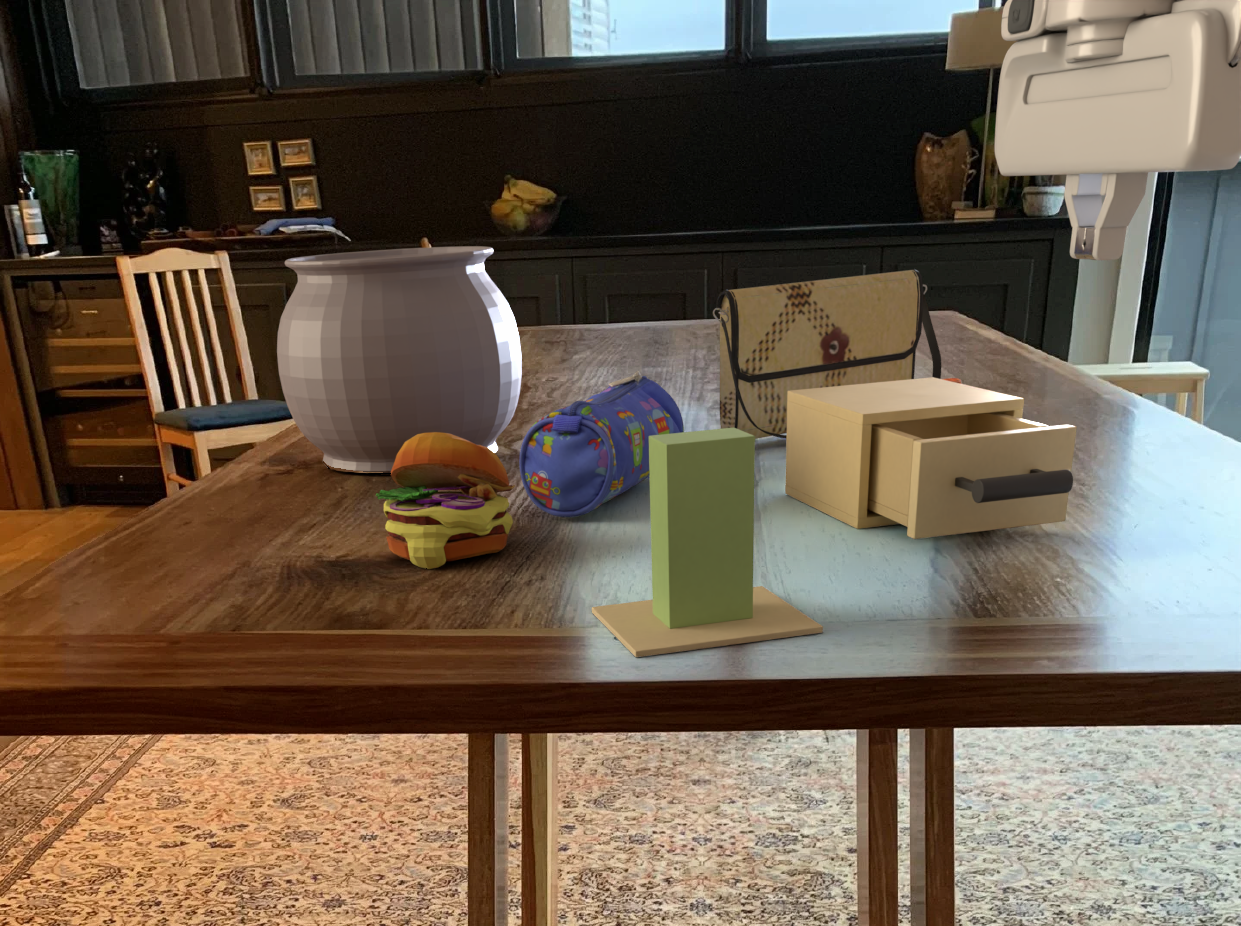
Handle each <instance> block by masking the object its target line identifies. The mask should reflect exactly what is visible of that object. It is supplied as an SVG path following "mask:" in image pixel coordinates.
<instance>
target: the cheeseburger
mask: <svg viewBox="0 0 1241 926" xmlns="http://www.w3.org/2000/svg"><path fill="white" fill-rule="evenodd" d="M390 477H391V479H392V481H393V482H394V483H395V484H396V485H397V486H400V487H398V488H392V489H389V490H384V489H380V490H379V492H376V493H375V497H377V500H381V499H384V500H385V501H384V503H383V513H384V516H385V517H386V518H387V519H388V520H387V521H386V523H385V525H384V528H385V530H386V531H387V534H388V536H387V535H386V542H387V545H388V548H389V551H390V552H392V553H393V554H394V555H396V556H397V557H399V558H401V559H404V560H408V561H410V562H411V564H413V565H415V566H416V567H419V568H421V569H426V568H427V570H433V569H437V568H439V567H441V566H444V565H445V564H446V562H453V561H458V560H462V559H467V558H473V557H479V556H483V555H486V554H487V555H488V554H494V553H498V552H501V551H502V550H503V549H504V548H505V547H506V546H507V541H508V537H509V533H510V531H511V529H512V526H513V524H514V520H513V517H512V515H511V514H510V513H509V512H508V511H507V509H509V507H510V502H509V498H507V497H505V496H504V495H501V494H498V493H504V492H511V491H512V490H513V489H514V488H515V487H516V484H510V480H509V477H508V473H507V470H506V468H505V466H504V464H503V462H502V461H501V460H500V458H499V456H498V455H497V454H496V452H495V453H494V452H493V451H491V450H490V449H489V448H487V447H484V446H482V445H476V444H474V443H472V442H470V441H467V440H465V439H463V438H460V437H458V436H455V435H452V434H449V433H441V432H430V433H421V434H417V435H415V436H414V437H412V438H411V439H409V440H407V441H406V442H405V443H404V444H403V446H402V447H401V449H400V451H399V452H398V454H397V456H396V459H395V462H394V465H393V467H392V470H391V474H390Z"/></svg>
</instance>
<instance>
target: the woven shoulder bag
mask: <svg viewBox="0 0 1241 926" xmlns="http://www.w3.org/2000/svg"><path fill="white" fill-rule="evenodd" d="M924 288H925V290H924ZM927 291H928V286H927V285H926V284H924V283H923V276H922V274H921V273H920V271H919V270H917V269H915V268H914V269H909V270H900V271H891V272H890V271H889V272H881V273H872V274H863V275H853V276H846V277H836V278H835V277H834V278H828V279H817V280H808V281H801V282H800V281H799V282H791V283H782V284H780V283H779V284H772V285H763V286H753V287H745V288H735V289H724V290H723V291H721V292H720V293H719V295H718V296H717V300H716V304H715V306H716V308H713V310H712V315H713V318H714V319H715V320H716V321H717V322H719V424H720V429H723V428H733V427H734V428H736V429H739V430H741V431H744V432H746V433H749V434H751V435H753V436H755V440H756V439H763V438H767V437H776V438H781V439H786V437H787V401H788V400H787V393H788V391H790V390H801V389H812V388H823V387H833V386H844V385H855V384H866V383H877V382H887V381H898V380H909V379H915V372H916V371H915V370H916V353H917V351H916V350H917V348H918V345H919V342H920V339H921V336H922V329H923V331H924V333H925V334H924V335H925V337H926V340H927V343H928V349H929V351H930V355H931V359H932V375H931V377H934V378H938V379H942V357H941V355H942V354H941V351H940V348H939V344H938V340H937V339H938V338H937V336H936V333H935V329H934V325H933V322H932V318H931V314H930V311H929V307H928V303H927V299H926V295H925V294H926V293H927ZM716 311H718V314H719V318H718V317H717V315H716V313H715V312H716Z"/></svg>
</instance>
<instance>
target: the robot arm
mask: <svg viewBox="0 0 1241 926" xmlns="http://www.w3.org/2000/svg"><path fill="white" fill-rule="evenodd" d="M1000 25H1001V26H1000V33H1001V38H1002V39H1003V40H1004V41H1005V42H1006V41H1007V42H1013V44H1012V45H1011V46H1010V47H1009V48H1008V49H1007V51H1006V53H1005V55H1004V58H1003V61H1002V65H1001V69H1000V75H999V80H998V81H999V83H998V91H997V104H996V115H995V126H994V127H995V128H994V158H995V160H996V164H997V168H998V170H999V173H1000V175H1001V176H1003V177H1015V176H1016V177H1021V176H1022V177H1023V176H1024V177H1027V176H1028V177H1029V176H1060V175H1062V176H1063V175H1066V176H1065V177H1066V178H1065V185H1064V194H1063V197H1064V202H1065V205H1066V210H1067V214H1068V218H1069V223H1070V226H1071V228H1072V229H1071V238H1070V246H1069V255H1070V257H1071V258H1072V259H1074V260H1075V259H1076V260H1092V261H1115V260H1118V259H1120V258H1121V257H1122V255H1123V253H1124V247H1125V242H1126V233H1127V228H1128V227H1129V225H1130V224H1131V221H1132V220H1133V218H1134V216H1135V214H1136V212H1137V210H1138V208H1139V206H1140V204H1142V203H1141V202H1142V201H1143V199H1144V197H1145V195H1146V190H1147V184H1148V176H1149V173H1172V172H1173V173H1174V172H1176V173H1177V172H1207V171H1209V172H1210V171H1222V170H1223V171H1224V170H1225V171H1226V170H1232V169H1233V168H1235V167H1236V166H1237V164H1238V163H1239V162H1240V160H1241V0H1007V1H1006V2H1005V4H1004V6H1003V8H1002V15H1001V24H1000ZM1102 196H1105V197H1104V200H1103V197H1102Z"/></svg>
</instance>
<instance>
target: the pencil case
mask: <svg viewBox="0 0 1241 926" xmlns="http://www.w3.org/2000/svg"><path fill="white" fill-rule="evenodd" d="M607 384H608V387H607V388H605V389H604V390H602V391H600V393H596V394H593V395H591V396H590V397H588V398H587V399H585V400H575V401H574V402H572V403H571V404H570V405H569V406H568V405H567V406H565V407H562V408H558V409H555V410H554V411H552V412H550V413H548V414H546V415H545V416H543V417H540V418H539V419H537V421H535V422H534V423H533V424H532V425H531V426H530V427H529V430H527V432H526V434H525V435H524V438H523V440H522V443H521V446H520V450H519V451H520V452H519V459H518V460H519V473H520V478H521V482H522V486H523V487H524V490H525V492H526V495H527V496H528V497H529V499H530V500H531V502H532V503H533V504H534V505H535V506H536V507H537V508H538V509H540V510H541V511H543V512H545V513H547V514H549V515H551V516H554V517H557V518H558V517H559V518H576V517H581V516H584V515H586V514H588V513H591V512H592V511H594V510H597V509H598V508H599V507H600V506H601V505H603V504H605V503H607V502H609V501H610V500H613V499H614V498H616V497H618V496H619V495H621V494H623V493H625V492H627V491H628V490H630V489H631V488H633V487H635V486H637V485H638V484H640V483H641V482H643V481H644V480H645V479H647V478H648V477H650V474H649V436H651V435H662V434H672V433H682V432H685V427H684V420H683V415H682V413H681V410H680V408H679V406H678V404H677V402H676V401H675V399H674V398H673V397H672V396H671V395H670V394H669V392H668V391H666V390H665V389H664V388H663V387H662V386H661V385H659V384H658V382H656V381H654V380H653V379H650V378H648V377H647V375H641V373H640V371H638V370H637V371H635V373H634V374H632V375H630V376H628V377H624V378H621V379H618V380H615V381H613V382H609V383H607Z"/></svg>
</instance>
